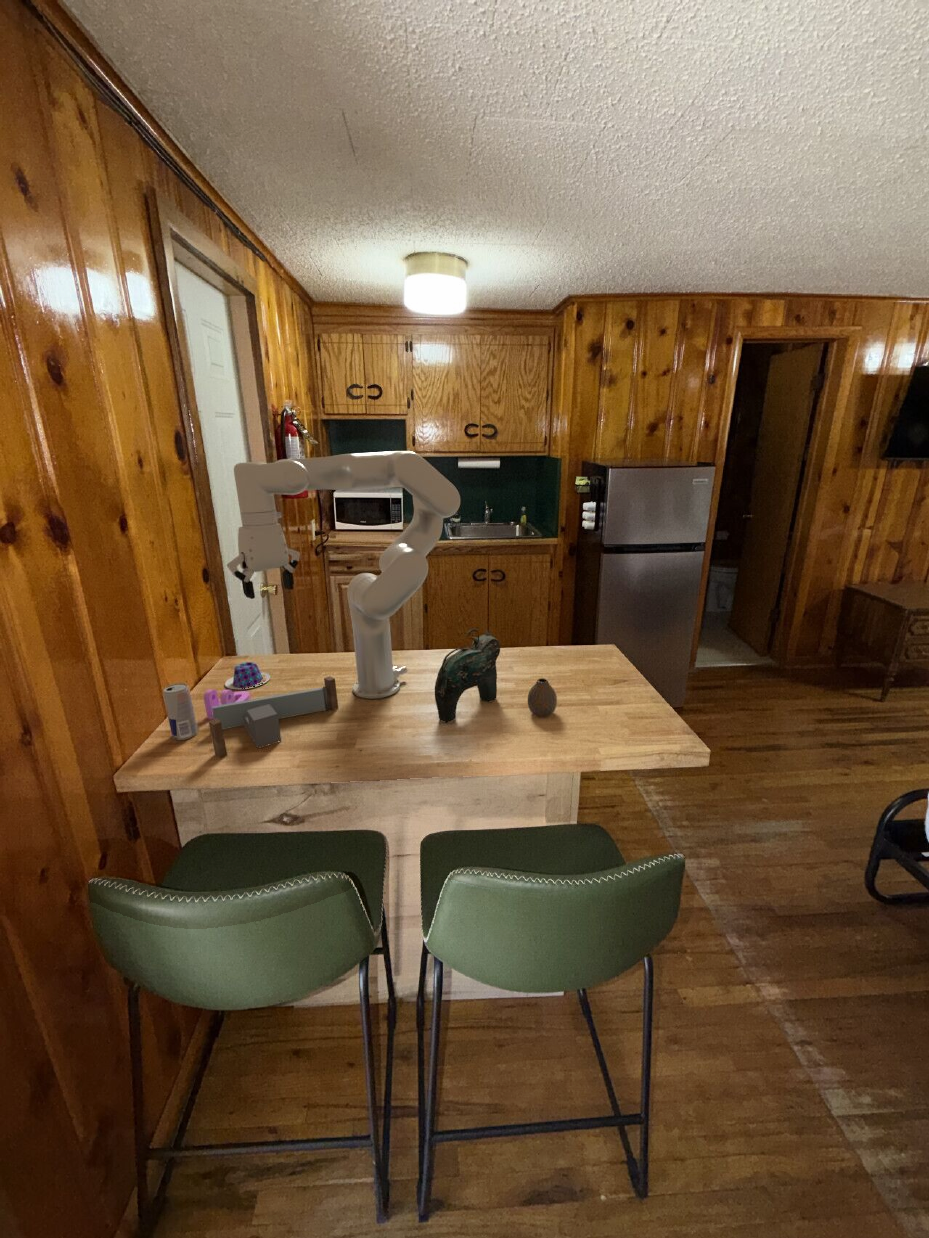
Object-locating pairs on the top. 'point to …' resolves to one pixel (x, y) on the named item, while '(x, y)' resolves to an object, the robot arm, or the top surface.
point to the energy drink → (180, 711)
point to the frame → (217, 726)
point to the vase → (542, 698)
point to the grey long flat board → (273, 706)
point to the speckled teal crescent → (467, 674)
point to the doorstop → (263, 725)
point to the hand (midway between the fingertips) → (270, 593)
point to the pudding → (246, 676)
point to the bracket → (222, 699)
